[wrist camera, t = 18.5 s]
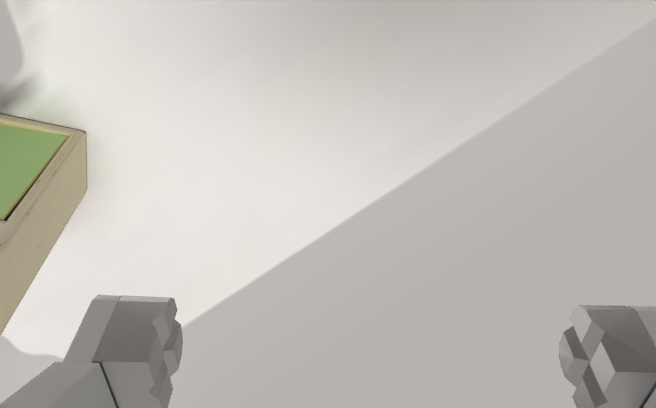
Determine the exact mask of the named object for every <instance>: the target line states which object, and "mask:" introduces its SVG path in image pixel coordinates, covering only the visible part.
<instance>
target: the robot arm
mask: <svg viewBox="0 0 656 408" xmlns="http://www.w3.org/2000/svg"><path fill="white" fill-rule="evenodd" d="M176 312H177V307H176V303H175V300H174V298H167V297H145V296H115V295H97V296H96V297H95V298H94V299H93V300H92V301H91V304H90V306H89V308H88V310H87V312H86V314H85V316H84V318H83V320H82V323H81V325H80V327H79V329H78V331H77V333H76V335H75V337H74V339H73V341H72V344H71V346H70V348H69V350H68V352H67V354H66V356H65V358H64V360H63V362H55V363H53V364H52V365H51V366H49V367H48V368H47V369H45V370H44V371H43V372H42V373H40V374H39V375H38V376H36V377H35V378H34V379H32V380H31V381H30V382H28V383H27V384H26V385H25V386H23V387H22V388H21V389H19V390H18V391H17V392H15V393H14V394H13V395H11V396H10V397H9V398H7V399H6V400H5V401H4V402H2V403H1V404H0V408H168V405H169V401H170V397H171V394H172V390H173V388H172V384H171V380H170V376H172V375H173V374H174V373H175V372H176V371H177V370H178V368H179V364H180V360H181V354H182V344H183V339H182V329H181V324H179V323H178V322H177V321H176V320H175V316H176ZM570 319H571V322H572V324H573V326H572V327H571V328H569V329H568V330H566V331H565V332H563V335H562V338H561V341H560V343H559V358H560V363H561V368H562V370H563V373H564V376H565V378H566V379H567V380H569V381H570V382H571V383H572V384H573V385H574V386H576V387H577V388H576V390H575V393H574V395H573V399H574V402H575V404H576V407H577V408H656V307H652V306H647V307H646V306H628V307H627V306H590V305H579V306H577V307H576V308H575V309H574V310H573V312H572V314H571V317H570Z"/></svg>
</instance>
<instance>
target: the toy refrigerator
mask: <svg viewBox="0 0 656 408" xmlns="http://www.w3.org/2000/svg"><path fill="white" fill-rule="evenodd" d="M86 167H87V163H86V133H85V132H83V131H80V130H75V129H71V128H66V127H61V126H56V125H51V124H46V123H41V122H37V121H32V120H27V119H22V118H17V117H13V116H8V115H3V114H0V335H1V334H2V332H3V330H4V329H5V327H6V325H7V323H8V322H9V320H10V318H11V317H12V315H13V313H14V312H15V310H16V308H17V307H18V305H19V303H20V302H21V300H22V298H23V296H24V295H25V293H26V291H27V290H28V288H29V286H30V285H31V283H32V281H33V280H34V278H35V276H36V275H37V273H38V271H39V270H40V268H41V266H42V265H43V263H44V261H45V260H46V258H47V256H48V255H49V253H50V251H51V250H52V248H53V246H54V245H55V243H56V241H57V240H58V238H59V236H60V235H61V233H62V231H63V230H64V228H65V226H66V224H67V223H68V221H69V220H70V218H71V216H72V214H73V213H74V211H75V209H76V208H77V206H78V204H79V203H80V201H81V199H82V198H83V196H84V194H85V192H86V190H87V170H86Z"/></svg>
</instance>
